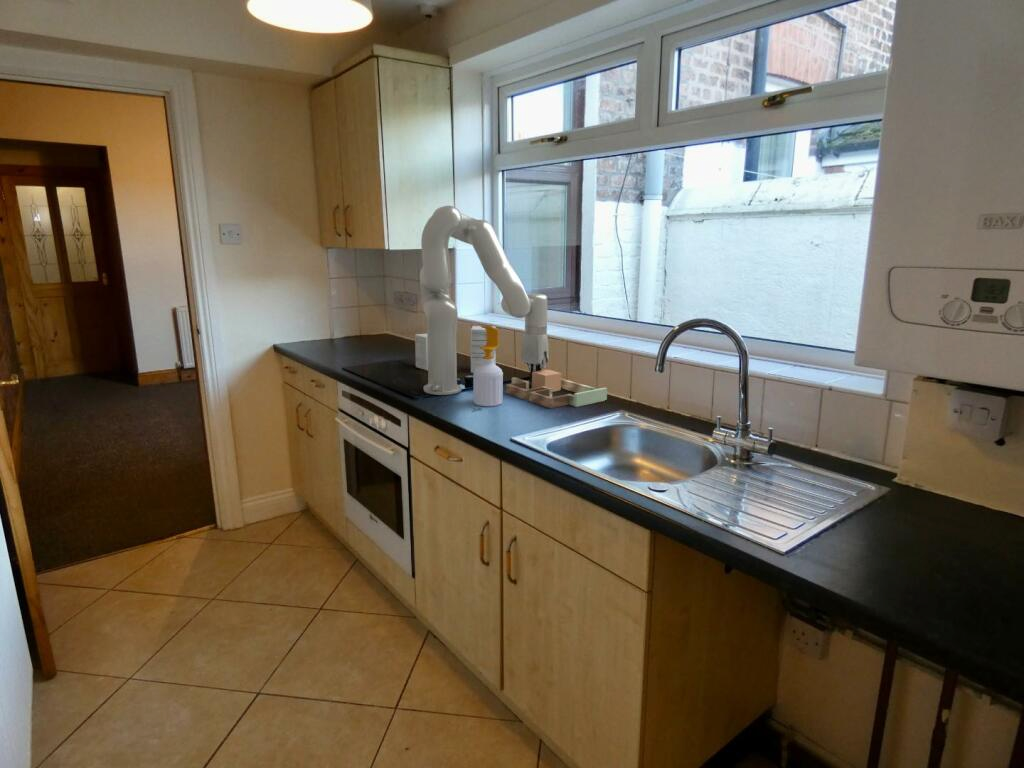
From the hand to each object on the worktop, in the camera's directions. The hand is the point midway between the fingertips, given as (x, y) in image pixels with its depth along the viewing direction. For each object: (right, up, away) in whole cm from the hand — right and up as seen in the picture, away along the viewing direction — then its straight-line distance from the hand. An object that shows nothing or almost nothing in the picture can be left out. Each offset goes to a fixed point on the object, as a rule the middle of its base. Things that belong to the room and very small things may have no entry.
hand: (534, 382), depth 219 cm
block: (+4, -3, -5) cm, 6 cm away
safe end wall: (+17, -7, -21) cm, 28 cm away
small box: (-41, +5, +27) cm, 49 cm away
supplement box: (-19, +4, +23) cm, 30 cm away
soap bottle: (-15, -7, -22) cm, 28 cm away
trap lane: (+4, -4, -11) cm, 12 cm away
